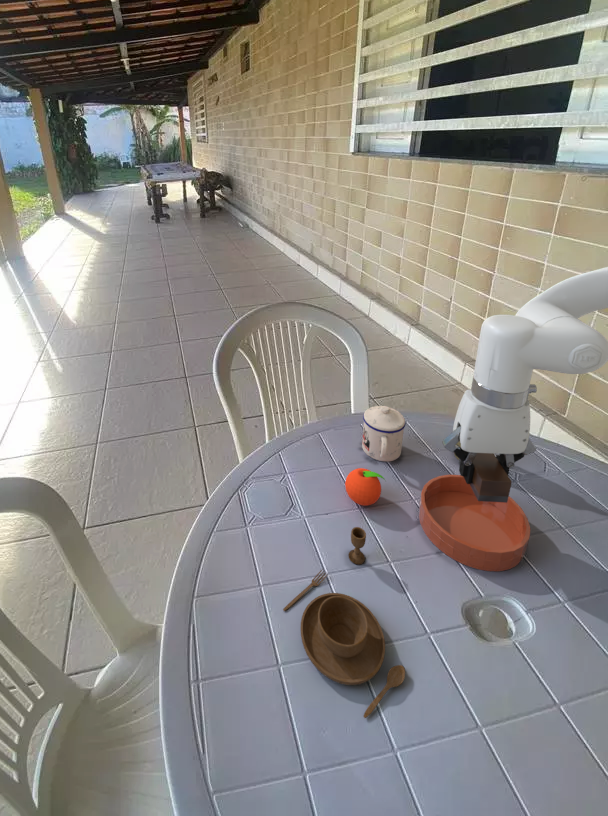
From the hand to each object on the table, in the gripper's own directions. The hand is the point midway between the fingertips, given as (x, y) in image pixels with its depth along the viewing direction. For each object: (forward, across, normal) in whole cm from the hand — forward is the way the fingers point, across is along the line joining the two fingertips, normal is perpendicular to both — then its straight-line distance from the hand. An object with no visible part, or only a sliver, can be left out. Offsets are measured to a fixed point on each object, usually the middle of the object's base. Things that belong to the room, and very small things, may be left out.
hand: (482, 478), depth 74 cm
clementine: (+12, +19, -5) cm, 23 cm away
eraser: (+1, 0, 0) cm, 1 cm away
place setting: (+12, +24, +19) cm, 32 cm away
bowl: (+12, +1, 0) cm, 12 cm away
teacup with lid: (+12, +13, -19) cm, 26 cm away
